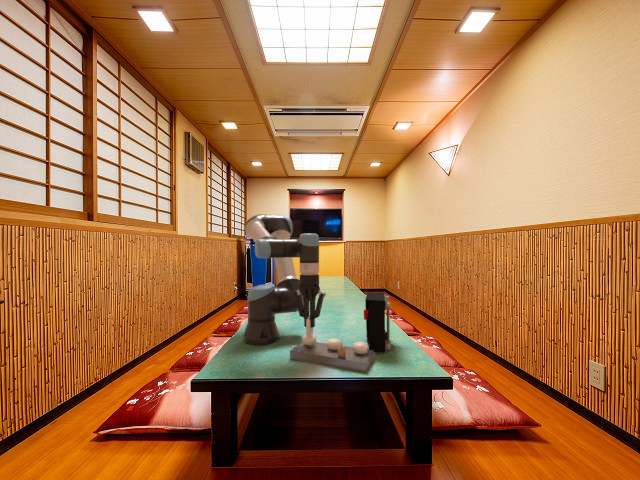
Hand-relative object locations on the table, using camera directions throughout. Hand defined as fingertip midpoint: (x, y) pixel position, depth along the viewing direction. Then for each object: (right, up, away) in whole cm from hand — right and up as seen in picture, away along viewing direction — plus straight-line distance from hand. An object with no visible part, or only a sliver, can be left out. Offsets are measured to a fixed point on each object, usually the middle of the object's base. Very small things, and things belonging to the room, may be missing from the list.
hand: (309, 335), depth 110 cm
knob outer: (+18, -6, -8) cm, 21 cm away
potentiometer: (+11, -3, -11) cm, 16 cm away
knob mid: (+9, -6, -4) cm, 12 cm away
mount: (+8, -7, -6) cm, 12 cm away
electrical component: (+28, -7, +9) cm, 30 cm away
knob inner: (0, -6, 0) cm, 6 cm away
